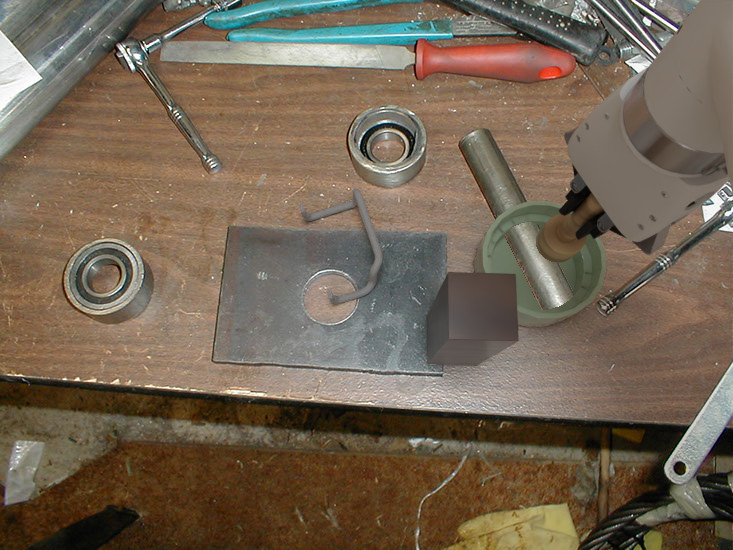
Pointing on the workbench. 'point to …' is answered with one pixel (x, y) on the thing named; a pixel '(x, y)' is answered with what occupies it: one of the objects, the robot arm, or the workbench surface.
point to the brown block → (472, 318)
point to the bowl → (579, 270)
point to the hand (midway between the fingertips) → (581, 218)
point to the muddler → (566, 231)
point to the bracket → (372, 236)
